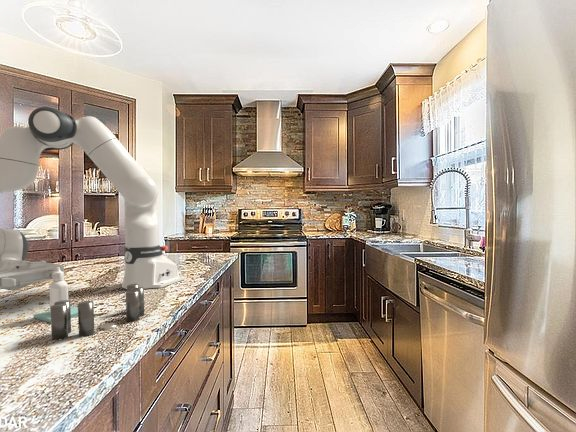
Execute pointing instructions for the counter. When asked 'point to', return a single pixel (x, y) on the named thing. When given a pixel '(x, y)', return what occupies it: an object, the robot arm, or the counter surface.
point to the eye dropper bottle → (58, 288)
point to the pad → (47, 315)
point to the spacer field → (92, 313)
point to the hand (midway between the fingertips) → (37, 279)
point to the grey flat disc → (108, 326)
